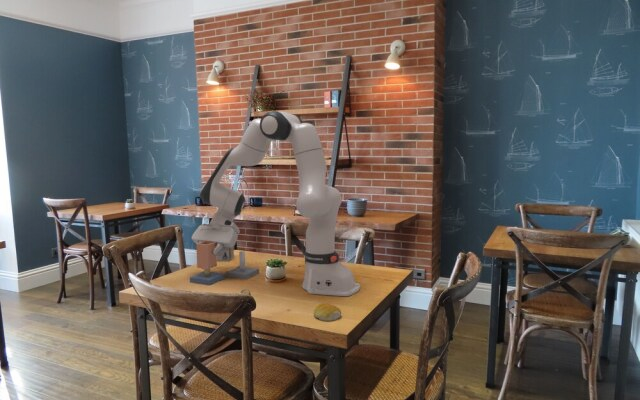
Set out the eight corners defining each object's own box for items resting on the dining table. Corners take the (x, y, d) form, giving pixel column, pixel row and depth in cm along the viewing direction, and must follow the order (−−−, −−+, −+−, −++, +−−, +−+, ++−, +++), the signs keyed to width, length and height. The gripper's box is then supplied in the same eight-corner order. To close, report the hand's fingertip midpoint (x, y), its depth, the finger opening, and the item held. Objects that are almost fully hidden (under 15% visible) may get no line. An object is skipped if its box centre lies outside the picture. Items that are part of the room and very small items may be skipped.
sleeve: (216, 265, 184) (216, 242, 183) (208, 269, 179) (207, 245, 178) (206, 264, 186) (205, 241, 185) (197, 267, 181) (196, 243, 180)
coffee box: (221, 256, 222) (220, 224, 220) (234, 256, 222) (233, 224, 220) (216, 261, 213) (215, 228, 211) (230, 261, 212) (229, 228, 210)
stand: (259, 273, 193) (258, 250, 192) (246, 279, 184) (245, 255, 183) (239, 270, 197) (239, 248, 196) (226, 276, 188) (225, 253, 187)
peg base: (225, 278, 186) (224, 256, 185) (209, 285, 177) (208, 262, 176) (205, 275, 190) (205, 254, 189) (189, 282, 181) (189, 259, 180)
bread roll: (328, 309, 151) (328, 298, 150) (345, 317, 144) (345, 305, 143) (308, 315, 146) (308, 303, 145) (324, 324, 139) (324, 311, 138)
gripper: (197, 219, 191) (182, 246, 184) (237, 222, 183) (223, 251, 175) (204, 227, 196) (190, 254, 188) (243, 231, 188) (230, 259, 180)
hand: (206, 253), depth 182 cm, fingers closed on sleeve, 6 cm apart
